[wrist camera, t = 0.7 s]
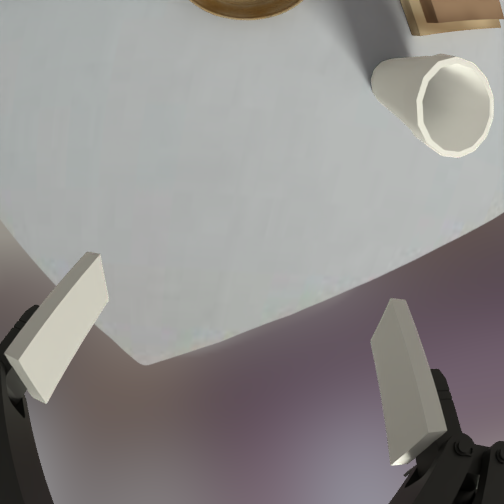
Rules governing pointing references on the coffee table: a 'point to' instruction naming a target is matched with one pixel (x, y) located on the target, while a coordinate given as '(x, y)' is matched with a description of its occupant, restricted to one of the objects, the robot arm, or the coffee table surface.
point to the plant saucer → (246, 8)
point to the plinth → (440, 27)
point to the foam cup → (437, 100)
